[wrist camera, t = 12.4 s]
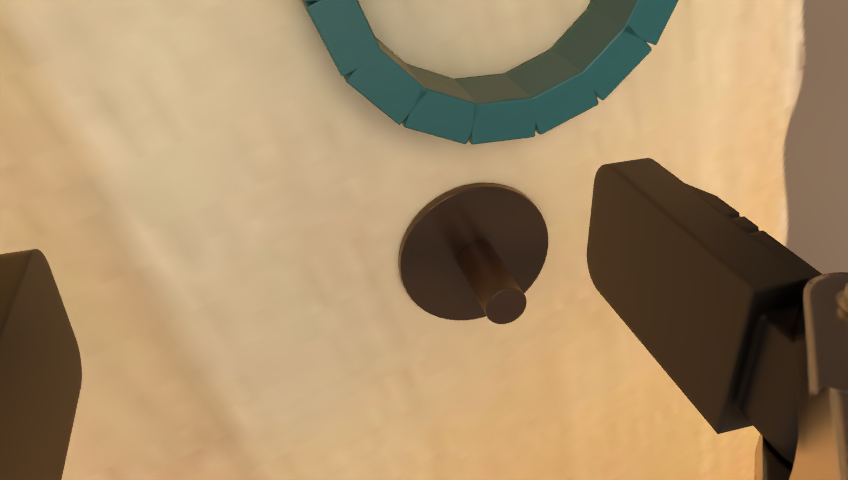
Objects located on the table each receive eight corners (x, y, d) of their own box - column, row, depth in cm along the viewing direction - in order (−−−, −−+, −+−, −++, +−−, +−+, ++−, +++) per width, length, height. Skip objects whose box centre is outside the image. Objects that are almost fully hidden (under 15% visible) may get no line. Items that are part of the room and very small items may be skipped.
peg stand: (395, 194, 34) (420, 245, 30) (549, 172, 36) (594, 219, 32) (401, 326, 38) (424, 388, 34) (540, 302, 40) (578, 358, 36)
